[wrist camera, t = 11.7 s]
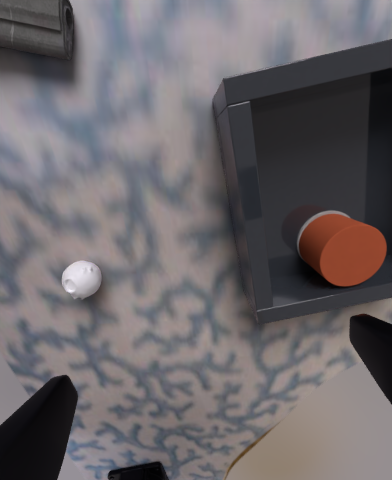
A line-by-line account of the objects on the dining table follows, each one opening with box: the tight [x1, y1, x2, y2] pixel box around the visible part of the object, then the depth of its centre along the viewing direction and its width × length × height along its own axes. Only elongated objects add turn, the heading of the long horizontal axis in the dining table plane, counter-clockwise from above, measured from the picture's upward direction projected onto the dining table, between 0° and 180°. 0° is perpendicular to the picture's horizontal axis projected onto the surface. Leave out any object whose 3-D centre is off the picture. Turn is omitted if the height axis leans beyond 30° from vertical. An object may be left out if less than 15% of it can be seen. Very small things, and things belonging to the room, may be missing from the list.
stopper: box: [299, 214, 387, 286], centre depth 17 cm, size 4×4×3 cm
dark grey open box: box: [213, 39, 392, 325], centre depth 16 cm, size 15×14×4 cm
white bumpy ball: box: [62, 261, 102, 300], centre depth 18 cm, size 3×3×3 cm
